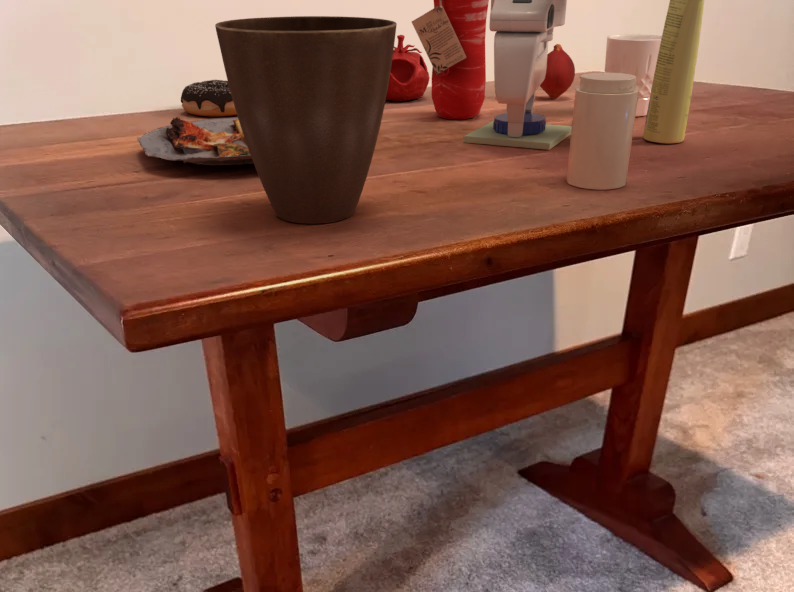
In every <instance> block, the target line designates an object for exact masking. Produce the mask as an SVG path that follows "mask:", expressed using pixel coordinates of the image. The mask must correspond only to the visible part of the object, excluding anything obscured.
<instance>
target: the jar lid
mask: <svg viewBox="0 0 794 592" xmlns="http://www.w3.org/2000/svg"><path fill="white" fill-rule="evenodd" d="M493 120H494V122H493V129H494V131H496V132H499V133H503V134H508V117H507V112H506V113H501V114H497V115H495V116H494V118H493ZM546 124H547V118H546V116H545V115H542V114H539V113H533V112H532V113H524V132H523V134H522V135H530V134H537V133H541V132H543V131H544V130H545V126H546Z"/></svg>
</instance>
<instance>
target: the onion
mask: <svg viewBox="0 0 794 592" xmlns="http://www.w3.org/2000/svg"><path fill="white" fill-rule="evenodd" d="M575 76H576V67H575V63H574V61H573V59H572V58H571V57H570V55H569V54H568V53H567V52H566V51H565V50H564V49H563V46H562V45H561V44H560V43H556V44H554V45H553V50H552V51H549V52H548V55H547V69H546V76H545V79H544V81H543V82H542V83H541V85H540V86H539V87H540V88H541V89H542V90H543V92H545V94H546V95H547V96H548V97H549V98H550V99H552V100H555V99H556V100H557V99H558V98H559V97H561V95H563V94H565V93H566V92H567V91H568V90H569V89H570V87H571V86H572V84H573V83H574V80H575Z"/></svg>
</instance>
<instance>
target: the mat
mask: <svg viewBox="0 0 794 592" xmlns="http://www.w3.org/2000/svg"><path fill="white" fill-rule="evenodd" d="M493 122H494V119H493V120H491V121H489V122H487V123H486V124H484V125H481V126H480V127H478V128H476V129H474V130H472V131H471V132H468V133H467V134H464V135H463V143H467V144H476V145H489V146H500V147H501V146H502V147H512V148H522V149H532V150H533V149H534V150H543V151H544V150H545V151H550V150H552V149H553V148H554V147H556V146H557V145H558V144H560V143H561V142H563V141H564V140H565V139H567V138H568V137H570V136H571V130H572V125H559V124H548V123H546V126H545V130H544V131H543V132H541V133H537V134H530V135H522V136H521V137H519V138H513V137H509V136H508V134H503V133H499V132H496V131H494V129H493Z"/></svg>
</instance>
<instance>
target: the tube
mask: <svg viewBox="0 0 794 592" xmlns="http://www.w3.org/2000/svg"><path fill="white" fill-rule="evenodd" d="M704 6H705V0H669V3H668V7H667V12H666V16H665V21H664V25H663V29H662V35H661V36H662V38H661V43H660V48H659V53H658V58H657V63H656V68H655V73H654V78H653V83H652V89H651V94H650V100H649V105H648V111H647V115H646V116H645V117H646V118H645V121H644V122H645V123H644V128H643V135H642V137H643V139H644V140H645V141H648V142H650V143H651V142H652V143H657V144H679V143H683V141H684V140H685V136H686V131H687V126H688V124H687V123H688V120H689V112H690V107H691V100H692V93H693V88H694V81H695V74H696V68H697V59H698V54H699V53H698V52H699V45H700V38H701V31H702V23H703V16H704V15H703V14H704Z"/></svg>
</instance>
